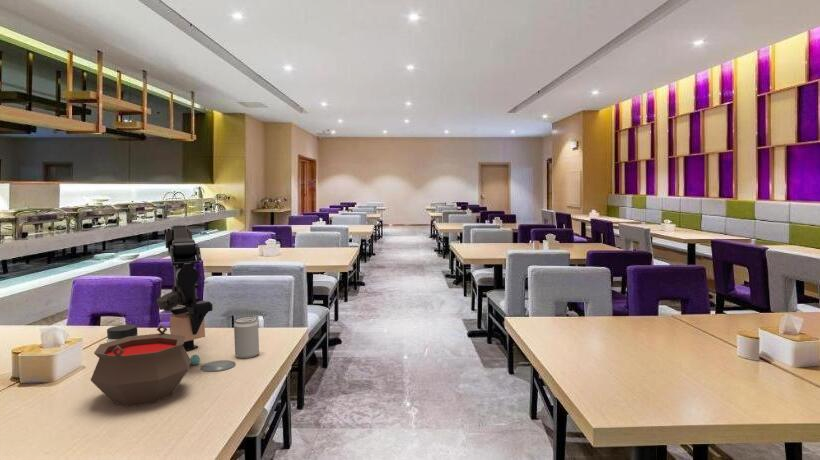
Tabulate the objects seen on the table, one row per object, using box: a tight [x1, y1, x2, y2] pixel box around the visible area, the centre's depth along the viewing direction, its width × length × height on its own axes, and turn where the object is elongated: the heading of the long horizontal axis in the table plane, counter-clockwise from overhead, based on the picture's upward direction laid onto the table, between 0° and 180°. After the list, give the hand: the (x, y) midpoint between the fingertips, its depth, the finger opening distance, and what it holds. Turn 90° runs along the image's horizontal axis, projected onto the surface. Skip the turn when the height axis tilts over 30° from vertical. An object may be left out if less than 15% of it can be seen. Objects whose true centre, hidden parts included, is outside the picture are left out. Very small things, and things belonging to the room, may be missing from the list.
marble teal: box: [189, 354, 201, 366], centre depth 164 cm, size 3×3×3 cm
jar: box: [106, 324, 139, 343], centre depth 163 cm, size 9×8×12 cm
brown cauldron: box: [90, 323, 191, 407], centre depth 138 cm, size 24×24×16 cm
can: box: [233, 316, 260, 359], centre depth 172 cm, size 8×8×12 cm
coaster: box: [199, 359, 236, 373], centre depth 161 cm, size 10×10×1 cm
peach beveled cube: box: [169, 312, 206, 342], centre depth 163 cm, size 7×7×7 cm
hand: (188, 332), depth 163 cm, fingers closed on peach beveled cube, 7 cm apart
